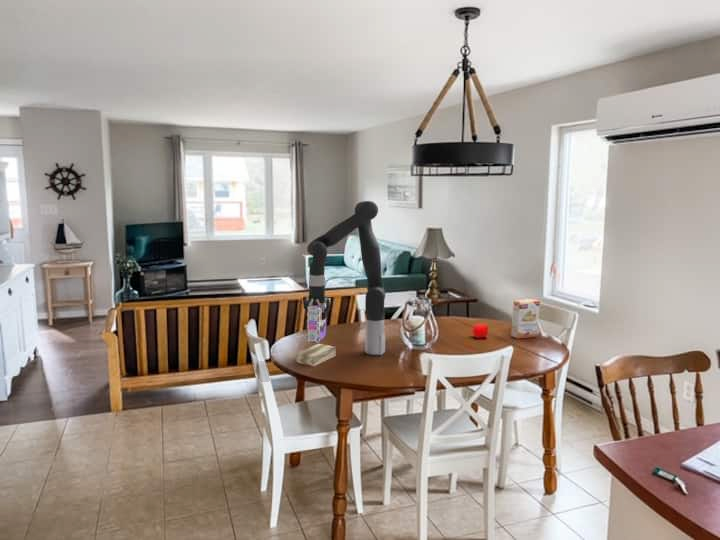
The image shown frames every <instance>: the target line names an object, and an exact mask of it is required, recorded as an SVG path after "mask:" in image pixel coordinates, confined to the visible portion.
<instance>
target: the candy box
mask: <svg viewBox="0 0 720 540" xmlns="http://www.w3.org/2000/svg"><path fill="white" fill-rule="evenodd" d="M324 304H325V308H326V302H324ZM326 336H327V317H326V318H325V320H322V308H321V307H320V306H317V305H312V306H310V307H308V308H307V310H306V342H307V343H315V344H320V342H321V341H322V340H323V339H324V338H325V337H326Z"/></svg>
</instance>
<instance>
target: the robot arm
mask: <svg viewBox="0 0 720 540" xmlns="http://www.w3.org/2000/svg"><path fill="white" fill-rule="evenodd" d="M378 214H379V206H378V205H377V204H376V203H375V202H374V201H372V200H366V201H360V202H358V203H357V204H356V205H355V207H354V214H352V215H351V216H349V217H348V218H346V219H345V220H343V221H340V222H339V223H337V224H336V225H334V226H333V227H331V228H330V229H329V230H328V231H327V232H325V233H324V234H322V235H320V236H318V237H317V238H315V239H314V240H312V241H311V242H309V244H308V245H307V253H308V254H309V255H310V256H311V257H312V262H310V263H309V273H308V275H309V276H308V295H304V296H303V297H302V304H303V305H302V306H303V309H304V310H306V311H307V308H308V307H310V306H312V305H317V306H320V307H321V308H322V320H325V318H326V319H327V312H329V311H330V310H331V303H332V298H330V297H329V298H328V297H326V296H325V295H326V278H325V277H326V276H325V270H326V269H325V265H326V261H327V256H328V248H329V247H333V246H335V245H337V244H338V243H340V241H342V240H343V239H344V238H346V237H347V236H348V235H349V234H351V233H352V232H354V231H355V230H356V229H357V230H358V237H359V238H358V239H359V244H360V245H359V246H360V255H361V262H362V265H363V269H364V271H365V275H366V278H367V279H366V281H367V291H366V294H365V297H364V298H365V300H364V302H365V304H364V305H365V306H364V307H365V341H364V342H365V344H364V345H365V347H364V348H365V350H364V351H365V354H367V355H369V356H370V355H371V356H378V355H379V356H382V355H383V354H384V353H385V352H386V333H385V300H386V299H385V298H386V291H385V287H384V283H383V277H382V260H381V250H380V245H379V242H378V239H377V237H376V235H375V233H374V231H373V230H374V229H373V227H372V226H373V225H372V220H373V219H375V218H376V217H377V215H378ZM308 301H309V302H308ZM324 303H326V308H325V304H324Z"/></svg>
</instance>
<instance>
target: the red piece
mask: <svg viewBox="0 0 720 540" xmlns="http://www.w3.org/2000/svg"><path fill="white" fill-rule="evenodd" d="M488 331H489V328H488V324H482V323H481V324H480V323H479V324H475V325H474V326H473V328H472V334H473V337H474V338H477V339H482V338H484V339H488V337H487V336H488Z"/></svg>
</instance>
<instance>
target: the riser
mask: <svg viewBox="0 0 720 540" xmlns="http://www.w3.org/2000/svg"><path fill="white" fill-rule="evenodd" d="M336 349H337V348H336V346H332V345H328V344H322V343H316V344H314V345H312V346H310V347H307V348H305V349H303V350H300V351H298V352H296V363H297V364H303V365H307V366H311V367H315V366H317V365H319V364H322V363H324V362H326V361H327V360H331V359H333V358H334V357H336V352H337V351H336Z"/></svg>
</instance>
